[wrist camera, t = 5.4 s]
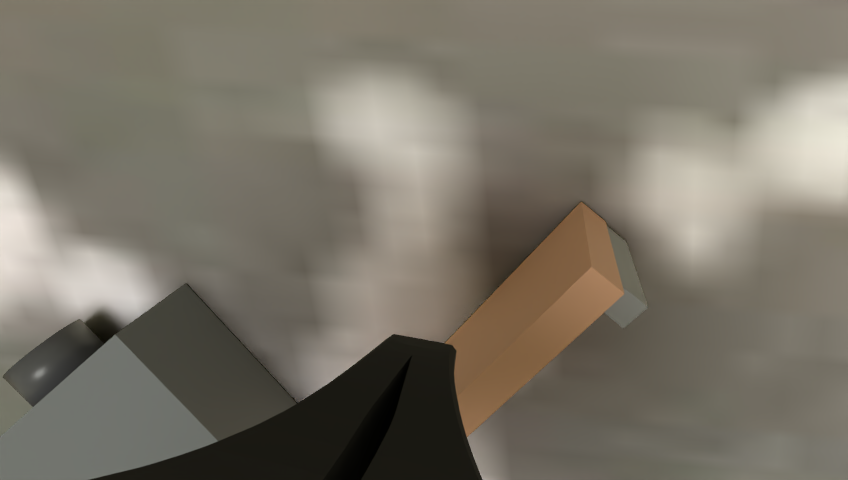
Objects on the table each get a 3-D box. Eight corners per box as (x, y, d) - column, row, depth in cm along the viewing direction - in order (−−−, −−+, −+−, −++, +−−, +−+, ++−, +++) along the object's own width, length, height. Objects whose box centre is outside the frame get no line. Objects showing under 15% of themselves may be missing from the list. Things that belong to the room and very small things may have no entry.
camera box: (352, 463, 24) (312, 555, 20) (193, 555, 28) (132, 647, 24) (157, 252, 22) (67, 304, 18) (17, 382, 27) (-81, 449, 22)
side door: (375, 478, 24) (330, 593, 19) (340, 451, 24) (286, 560, 19) (624, 237, 18) (650, 315, 13) (581, 201, 18) (591, 266, 13)
